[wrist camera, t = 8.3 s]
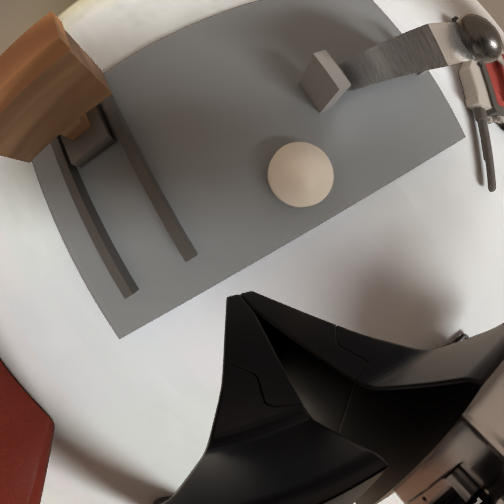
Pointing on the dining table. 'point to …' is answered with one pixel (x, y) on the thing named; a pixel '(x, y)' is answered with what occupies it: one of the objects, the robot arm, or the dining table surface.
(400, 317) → the dining table surface
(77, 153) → the walnut slider lever
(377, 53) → the light grey piece
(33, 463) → the plant pot
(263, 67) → the control panel
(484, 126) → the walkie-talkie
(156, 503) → the travel mug
